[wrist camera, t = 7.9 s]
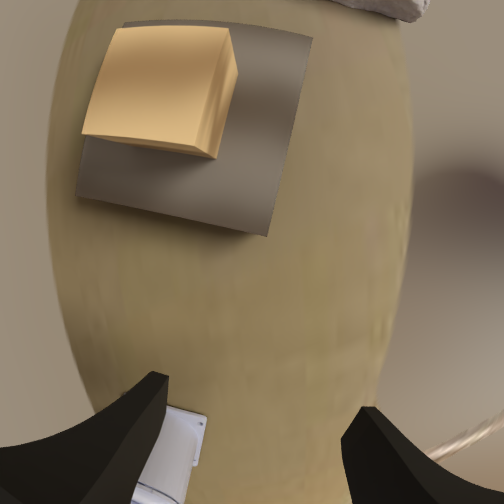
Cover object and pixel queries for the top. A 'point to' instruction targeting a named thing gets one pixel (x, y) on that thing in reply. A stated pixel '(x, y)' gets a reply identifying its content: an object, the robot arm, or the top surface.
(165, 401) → the robot arm
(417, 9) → the stone block
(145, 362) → the top surface
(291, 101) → the base block
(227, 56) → the maple cube
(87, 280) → the top surface
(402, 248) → the top surface
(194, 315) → the top surface
